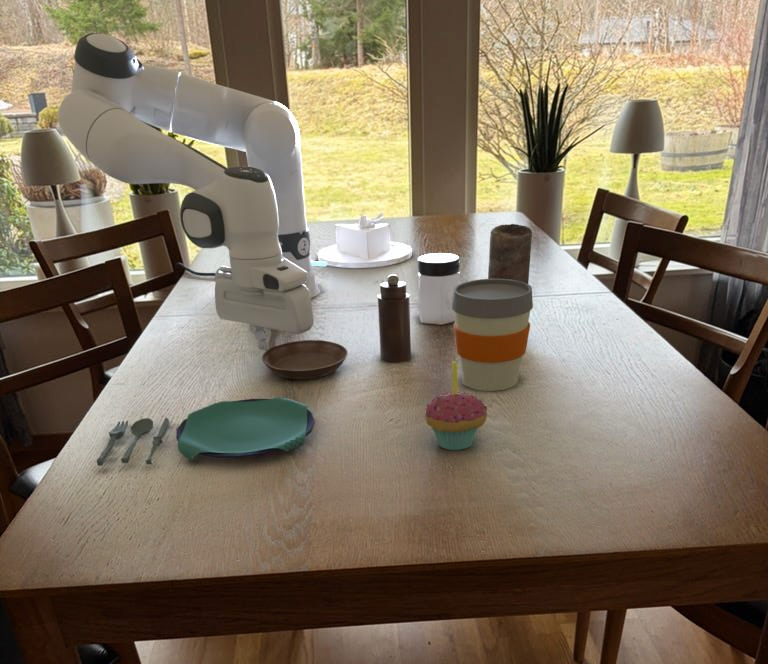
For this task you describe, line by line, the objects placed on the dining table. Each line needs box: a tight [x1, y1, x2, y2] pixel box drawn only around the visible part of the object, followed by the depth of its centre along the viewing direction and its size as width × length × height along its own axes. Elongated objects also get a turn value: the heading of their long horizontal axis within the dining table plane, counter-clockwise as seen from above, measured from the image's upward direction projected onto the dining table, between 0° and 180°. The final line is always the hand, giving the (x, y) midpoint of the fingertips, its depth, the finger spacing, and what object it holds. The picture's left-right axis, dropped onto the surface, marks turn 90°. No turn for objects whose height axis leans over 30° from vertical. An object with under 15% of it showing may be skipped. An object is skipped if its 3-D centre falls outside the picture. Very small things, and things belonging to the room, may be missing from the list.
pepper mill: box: [377, 273, 412, 364], centre depth 137 cm, size 5×5×15 cm
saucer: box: [261, 339, 349, 381], centre depth 137 cm, size 15×15×3 cm
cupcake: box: [424, 355, 488, 451], centre depth 106 cm, size 9×8×12 cm
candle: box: [487, 223, 533, 284], centre depth 141 cm, size 8×7×20 cm
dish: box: [317, 212, 413, 269], centre depth 206 cm, size 25×25×11 cm
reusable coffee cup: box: [452, 278, 534, 392], centre depth 125 cm, size 13×13×15 cm
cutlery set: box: [96, 396, 316, 467], centre depth 114 cm, size 20×30×2 cm, turn 94°
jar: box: [417, 252, 461, 326], centre depth 156 cm, size 9×8×12 cm
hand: (267, 349), depth 141 cm, fingers closed
